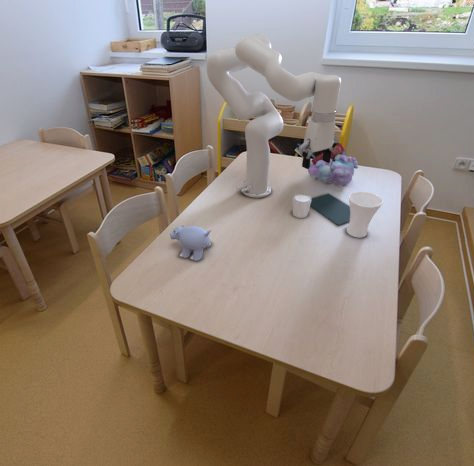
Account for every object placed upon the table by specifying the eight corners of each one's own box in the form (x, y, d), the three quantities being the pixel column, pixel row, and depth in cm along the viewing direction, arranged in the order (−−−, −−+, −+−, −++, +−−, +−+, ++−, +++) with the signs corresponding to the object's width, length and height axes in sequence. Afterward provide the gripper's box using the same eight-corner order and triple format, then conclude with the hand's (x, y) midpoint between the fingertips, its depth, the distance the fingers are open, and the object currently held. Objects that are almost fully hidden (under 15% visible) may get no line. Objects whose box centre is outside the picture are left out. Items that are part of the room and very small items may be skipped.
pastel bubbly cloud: (334, 186, 134) (356, 145, 130) (292, 168, 148) (311, 130, 143) (351, 195, 149) (372, 158, 145) (312, 178, 163) (330, 143, 158)
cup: (373, 227, 118) (383, 194, 110) (371, 244, 110) (382, 209, 103) (342, 221, 122) (350, 189, 114) (339, 237, 114) (347, 203, 106)
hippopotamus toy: (180, 235, 119) (177, 213, 114) (218, 244, 114) (217, 221, 108) (165, 253, 111) (161, 229, 106) (205, 263, 106) (203, 240, 100)
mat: (338, 225, 120) (338, 224, 120) (303, 201, 135) (303, 200, 135) (364, 216, 124) (365, 215, 124) (328, 194, 139) (328, 193, 139)
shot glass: (309, 210, 129) (312, 194, 125) (308, 219, 124) (311, 203, 120) (292, 208, 131) (294, 192, 127) (289, 217, 126) (291, 201, 122)
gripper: (333, 109, 115) (326, 156, 125) (295, 118, 109) (290, 166, 118) (350, 114, 109) (341, 162, 119) (311, 123, 103) (304, 174, 113)
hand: (315, 164), depth 119 cm, fingers open, 9 cm apart
